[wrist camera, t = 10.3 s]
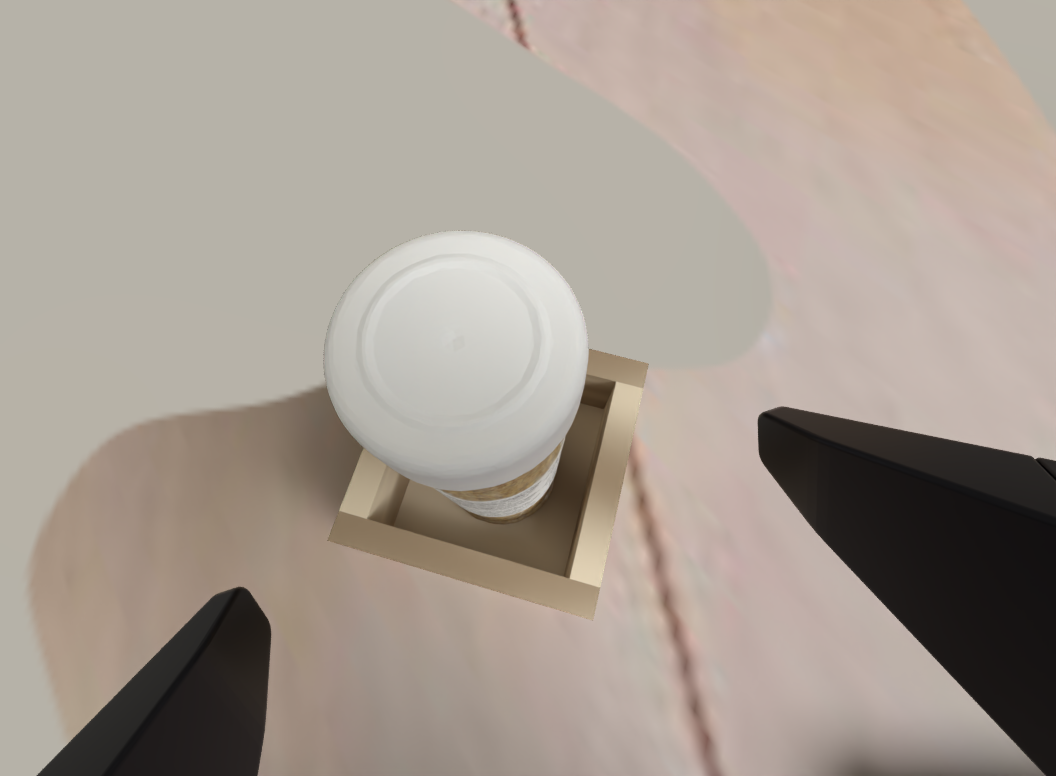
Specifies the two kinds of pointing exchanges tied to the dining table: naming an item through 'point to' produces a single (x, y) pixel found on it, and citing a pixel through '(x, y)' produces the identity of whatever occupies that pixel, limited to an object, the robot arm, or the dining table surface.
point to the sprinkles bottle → (461, 368)
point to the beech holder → (528, 545)
